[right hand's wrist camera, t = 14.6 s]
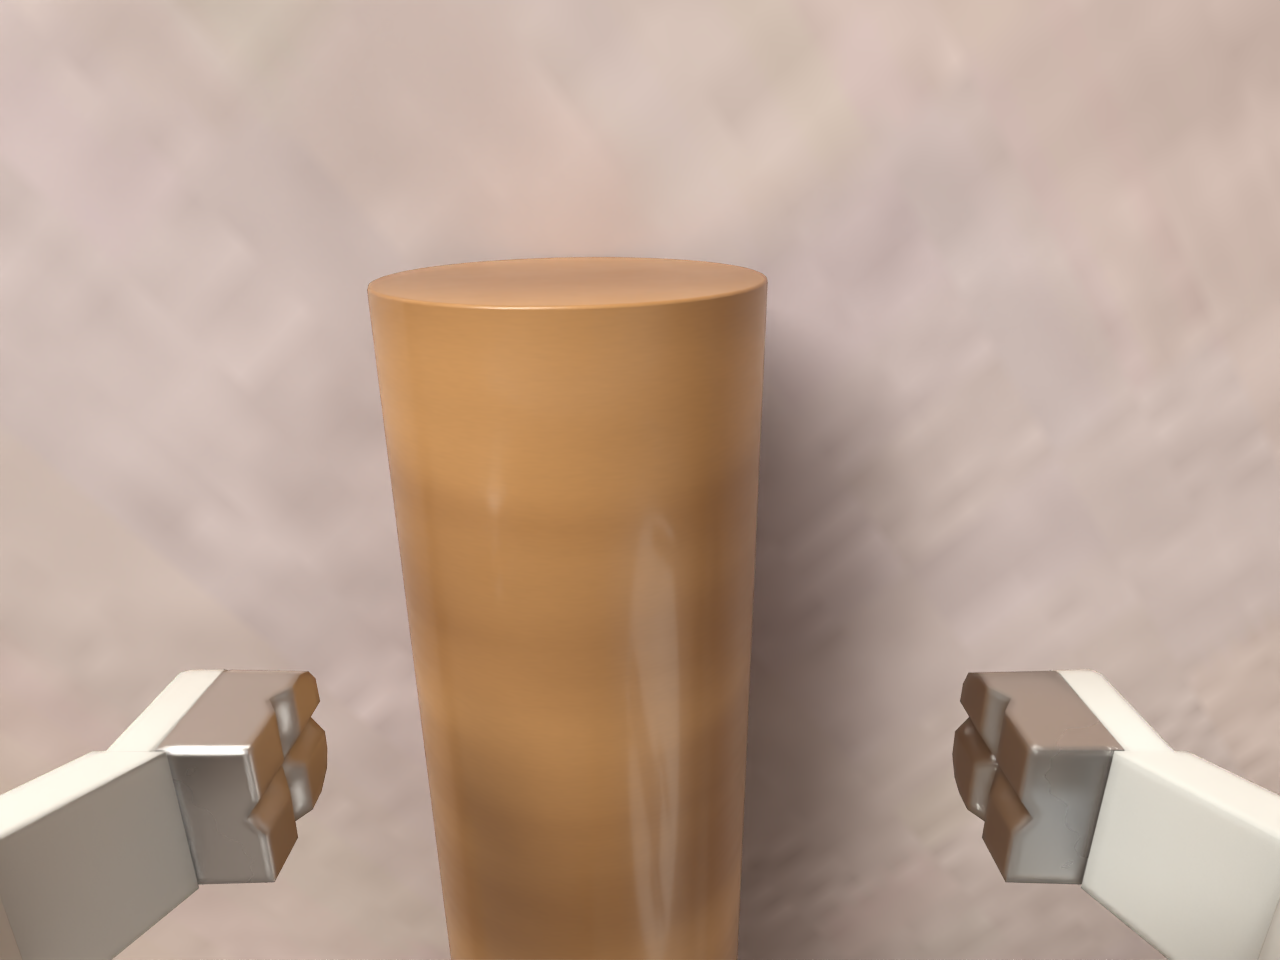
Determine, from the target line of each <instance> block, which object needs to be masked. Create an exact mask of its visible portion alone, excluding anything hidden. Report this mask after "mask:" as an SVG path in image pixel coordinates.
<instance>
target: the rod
mask: <svg viewBox="0 0 1280 960" xmlns="http://www.w3.org/2000/svg"><path fill="white" fill-rule="evenodd" d="M767 284H768V282H767V278H766V276H765V275H763V274H762V273H760V272H757V271H755V270H752V269H748V268H744V267H739V266H734V265H728V264H721V263H712V262H703V261H691V260H677V259H658V258H623V257H572V258H537V259H515V260H498V261H484V262H471V263H461V264H451V265H442V266H434V267H427V268H420V269H414V270H409V271H403V272H399V273H394V274H391V275H387V276H384V277H381V278H379V279H376V280H374V281H372V282H371V283H370V284H369V286H368V289H367V293H368V300H369V308H370V316H371V324H372V332H373V340H374V348H375V356H376V364H377V372H378V380H379V388H380V396H381V404H382V412H383V420H384V428H385V436H386V444H387V452H388V460H389V468H390V476H391V484H392V492H393V500H394V508H395V516H396V524H397V532H398V540H399V548H400V556H401V564H402V572H403V580H404V588H405V596H406V604H407V612H408V620H409V627H410V635H411V643H412V651H413V659H414V667H415V675H416V683H417V691H418V699H419V707H420V715H421V723H422V731H423V739H424V747H425V755H426V763H427V771H428V779H429V787H430V795H431V803H432V811H433V819H434V827H435V835H436V843H437V851H438V859H439V867H440V875H441V883H442V891H443V899H444V907H445V915H446V923H447V931H448V939H449V947H450V955H451V960H737V955H738V933H739V911H740V888H741V866H742V844H743V821H744V799H745V776H746V754H747V732H748V709H749V687H750V665H751V642H752V620H753V597H754V575H755V553H756V530H757V508H758V486H759V463H760V441H761V418H762V396H763V374H764V351H765V329H766V307H767Z"/></svg>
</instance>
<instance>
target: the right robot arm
mask: <svg viewBox="0 0 1280 960" xmlns="http://www.w3.org/2000/svg"><path fill="white" fill-rule="evenodd" d="M319 702H320V699H319V694H318V689H317V684H316V679H315V678H314V677H313V676H312V675H311V674H310V673H309V672H308V671H266V670H229V671H228V670H225V669H215V670H188V671H184V672H181V673H179V674H178V675H177V676H176V677H175V679H174V680H173V681H172V682H171V683H170V684H169V685H168V686H167V687H166V688H165V689H164V690H163V691H162V692H161V693H160V694H159V695H158V697H157V698H156V699H155V700H154V701H153V702H152V703H151V704H150V705H149V706H148V707H147V708H146V709H145V710H144V711H143V712H142V713H141V715H140V716H139V717H138V718H137V719H136V720H135V721H134V722H133V723H132V724H131V725H130V726H129V727H128V728H127V729H126V730H125V731H124V733H123V734H122V735H121V736H120V737H119V738H118V739H117V740H116V741H115V742H114V743H113V744H112V745H111V746H110V747H109V748H108V749H107V751H92V752H90V753H88V754H86V755H84V756H82V757H79V758H77V759H75V760H73V761H71V762H69V763H67V764H65V765H63V766H61V767H58V768H56V769H54V770H52V771H50V772H48V773H46V774H44V775H42V776H40V777H38V778H35V779H33V780H31V781H29V782H27V783H25V784H23V785H21V786H19V787H17V788H14V789H12V790H10V791H8V792H6V793H4V794H2V795H0V960H112V959H113V958H114V957H115V956H117V955H118V954H119V953H120V952H122V951H123V950H124V949H125V948H126V947H128V946H129V945H130V944H131V943H133V942H134V941H135V940H136V939H137V938H139V937H140V936H141V935H142V934H144V933H145V932H146V931H147V930H148V929H150V928H151V927H152V926H153V925H155V924H156V923H157V922H158V921H159V920H161V919H162V918H163V917H164V916H166V915H167V914H168V913H169V912H170V911H172V910H173V909H174V908H175V907H177V906H178V905H179V904H180V903H181V902H183V901H184V900H185V899H186V898H188V897H189V896H190V895H191V894H192V893H194V892H195V891H196V890H197V889H198V888H199V886H198V884H228V883H262V882H275V880H276V878H277V876H278V874H279V873H280V871H281V869H282V867H283V865H284V863H285V861H286V859H287V857H288V855H289V854H290V852H291V850H292V848H293V846H294V844H295V842H296V840H297V838H298V835H297V829H296V823H295V821H296V820H298V819H299V818H301V817H302V816H304V815H305V814H307V813H308V812H309V811H311V810H312V809H313V808H314V805H315V803H316V801H317V799H318V797H319V795H320V793H321V791H322V787H323V782H324V778H325V774H326V769H327V743H326V736H325V731H324V730H323V729H322V728H321V727H320V726H319V725H318V724H317V723H316V722H315V721H314V720H313V719H312V718H311V715H312V714H313V712H314V710H315V709H316V707H317V705H318V704H319ZM960 702H961V704H962V705H963V707H964V709H965V710H966V712H967V714H968V715H969V718H968V719H967V720H966V721H965V722H964V723H963V724H962V725H961V726H960V727H959V728H958V729H957V730H956V731H955V737H954V745H953V754H952V755H953V766H954V776H955V780H956V783H957V787H958V790H959V793H960V795H961V797H962V799H963V801H964V803H965V806H966V808H967V809H968V810H969V811H971V812H972V813H973V814H975V815H976V816H978V817H979V818H981V819H982V820H984V821H985V823H984V829H983V835H982V838H983V840H984V842H985V844H986V846H987V848H988V850H989V852H990V853H991V855H992V857H993V859H994V861H995V863H996V865H997V867H998V869H999V870H1000V872H1001V874H1002V876H1003V878H1004V880H1005V882H1016V883H1051V884H1082V886H1081V888H1082V889H1083V890H1084V891H1085V892H1087V893H1088V894H1089V895H1090V896H1092V897H1093V898H1094V899H1095V900H1096V901H1098V902H1099V903H1100V904H1101V905H1103V906H1104V907H1105V908H1106V909H1107V910H1109V911H1110V912H1111V913H1112V914H1114V915H1115V916H1116V917H1117V918H1118V919H1120V920H1121V921H1122V922H1123V923H1125V924H1126V925H1127V926H1128V927H1129V928H1131V929H1132V930H1133V931H1134V932H1136V933H1137V934H1138V935H1139V936H1140V937H1142V938H1143V939H1144V940H1145V941H1147V942H1148V943H1149V944H1150V945H1151V946H1153V947H1154V948H1155V949H1156V950H1158V951H1159V952H1160V953H1161V954H1162V955H1164V956H1165V957H1166V958H1167V959H1168V960H1280V795H1278V794H1276V793H1274V792H1272V791H1270V790H1267V789H1265V788H1263V787H1261V786H1259V785H1257V784H1255V783H1253V782H1251V781H1249V780H1247V779H1244V778H1242V777H1240V776H1238V775H1236V774H1234V773H1232V772H1230V771H1228V770H1226V769H1224V768H1221V767H1219V766H1217V765H1215V764H1213V763H1211V762H1209V761H1207V760H1205V759H1203V758H1201V757H1198V756H1196V755H1194V754H1192V753H1190V752H1188V751H1174V750H1173V749H1172V748H1171V747H1170V746H1169V745H1168V744H1167V743H1166V742H1165V741H1164V740H1163V739H1162V738H1161V737H1160V736H1159V735H1158V734H1157V732H1156V731H1155V730H1154V729H1153V728H1152V727H1151V726H1150V725H1149V724H1148V723H1147V722H1146V721H1145V720H1144V719H1143V718H1142V717H1141V716H1140V714H1139V713H1138V712H1137V711H1136V710H1135V709H1134V708H1133V707H1132V706H1131V705H1130V704H1129V703H1128V702H1127V701H1126V700H1125V699H1124V697H1123V696H1122V695H1121V694H1120V693H1119V692H1118V691H1117V690H1116V689H1115V688H1114V687H1113V686H1112V685H1111V684H1110V683H1109V682H1108V681H1107V679H1106V678H1105V677H1104V676H1103V675H1102V674H1101V673H1098V672H1096V671H1094V670H1091V669H1076V670H1050V671H1023V672H976V673H968V675H967V677H966V679H965V681H964V683H963V687H962V693H961V699H960Z"/></svg>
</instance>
